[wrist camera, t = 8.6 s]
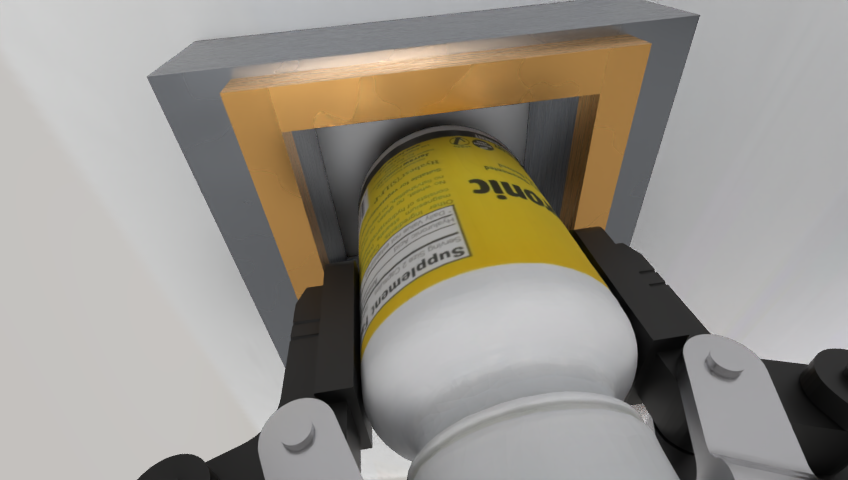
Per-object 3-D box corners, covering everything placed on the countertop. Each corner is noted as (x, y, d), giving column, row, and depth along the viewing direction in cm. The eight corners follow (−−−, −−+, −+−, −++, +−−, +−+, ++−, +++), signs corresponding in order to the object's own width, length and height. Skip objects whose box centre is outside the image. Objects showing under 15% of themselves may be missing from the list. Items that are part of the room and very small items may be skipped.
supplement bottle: (550, 199, 14) (787, 533, 6) (428, 284, 16) (500, 629, 8) (458, 77, 11) (689, 420, 3) (321, 196, 13) (269, 607, 5)
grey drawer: (624, -5, 13) (746, 27, 9) (555, 342, 23) (596, 427, 19) (194, 41, 12) (115, 99, 8) (324, 378, 22) (318, 475, 18)
